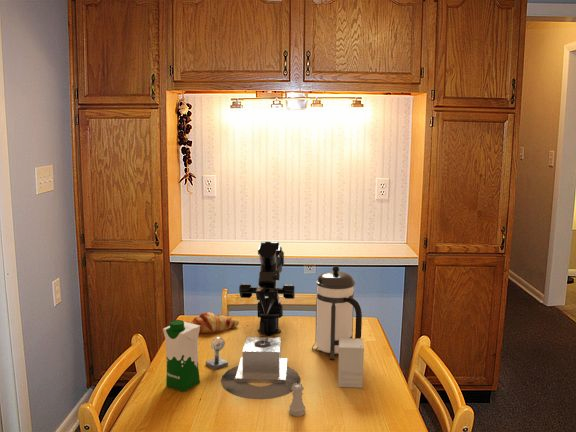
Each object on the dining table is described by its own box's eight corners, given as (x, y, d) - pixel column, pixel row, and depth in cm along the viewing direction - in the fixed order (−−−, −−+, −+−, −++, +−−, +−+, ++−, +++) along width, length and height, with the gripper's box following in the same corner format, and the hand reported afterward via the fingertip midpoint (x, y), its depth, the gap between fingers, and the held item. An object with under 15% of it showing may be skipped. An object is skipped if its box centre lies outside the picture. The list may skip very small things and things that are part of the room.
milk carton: (161, 386, 162) (159, 322, 159) (182, 374, 170) (180, 312, 166) (184, 394, 158) (182, 328, 154) (204, 382, 165) (203, 318, 162)
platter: (265, 356, 184) (265, 355, 184) (317, 381, 167) (317, 380, 167) (205, 378, 168) (205, 377, 168) (255, 408, 150) (255, 408, 150)
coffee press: (307, 359, 182) (308, 271, 176) (316, 340, 197) (317, 259, 192) (359, 365, 178) (363, 275, 172) (365, 346, 193) (368, 262, 188)
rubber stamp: (218, 360, 180) (218, 332, 178) (227, 365, 177) (227, 336, 175) (205, 364, 177) (205, 336, 175) (215, 370, 173) (214, 341, 171)
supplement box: (362, 377, 170) (363, 338, 167) (362, 388, 162) (364, 348, 160) (337, 375, 170) (338, 337, 168) (337, 387, 163) (338, 346, 161)
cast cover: (241, 360, 180) (241, 334, 178) (287, 361, 179) (287, 335, 178) (235, 382, 165) (235, 353, 164) (285, 383, 165) (285, 354, 163)
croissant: (237, 332, 213) (235, 312, 215) (242, 329, 203) (240, 307, 206) (181, 337, 207) (180, 315, 209) (183, 334, 197) (182, 311, 200)
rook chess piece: (288, 408, 151) (288, 381, 149) (304, 408, 151) (304, 380, 150) (289, 417, 146) (289, 389, 145) (306, 416, 147) (306, 388, 145)
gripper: (239, 260, 187) (235, 302, 178) (294, 261, 186) (293, 303, 177) (242, 276, 196) (238, 317, 187) (295, 277, 195) (293, 318, 186)
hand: (265, 314), depth 184 cm, fingers closed
